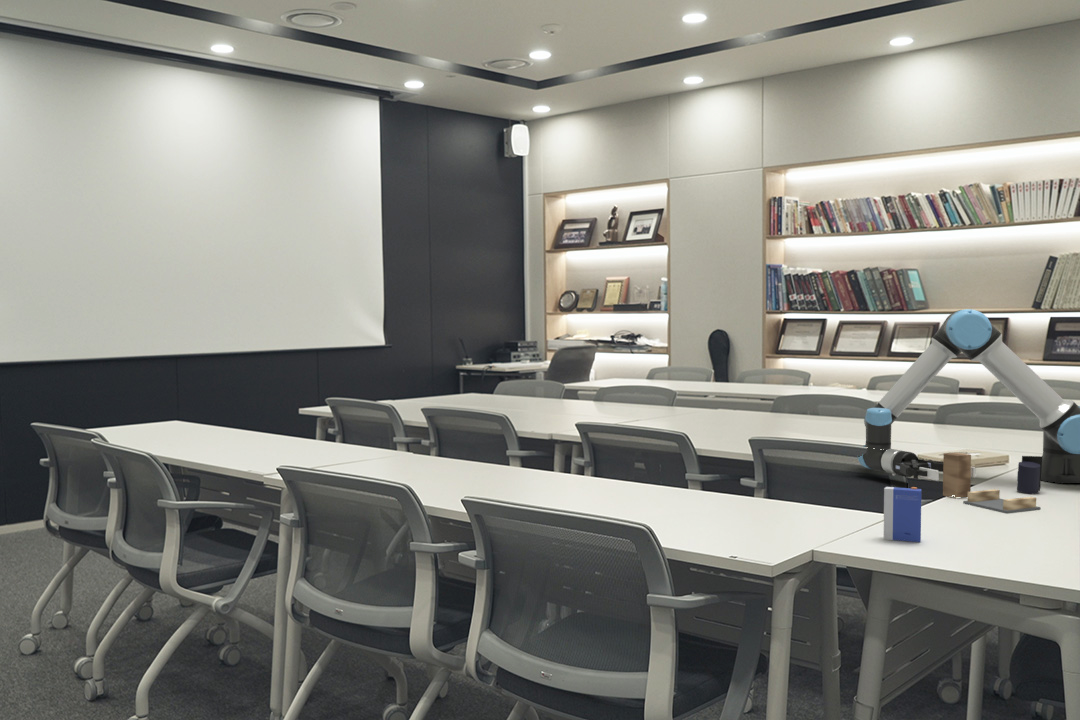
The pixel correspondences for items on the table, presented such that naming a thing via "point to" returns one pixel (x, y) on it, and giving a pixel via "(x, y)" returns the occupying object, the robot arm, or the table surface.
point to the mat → (997, 506)
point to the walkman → (902, 514)
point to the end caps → (1007, 503)
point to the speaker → (1029, 474)
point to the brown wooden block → (956, 474)
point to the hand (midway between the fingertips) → (956, 474)
